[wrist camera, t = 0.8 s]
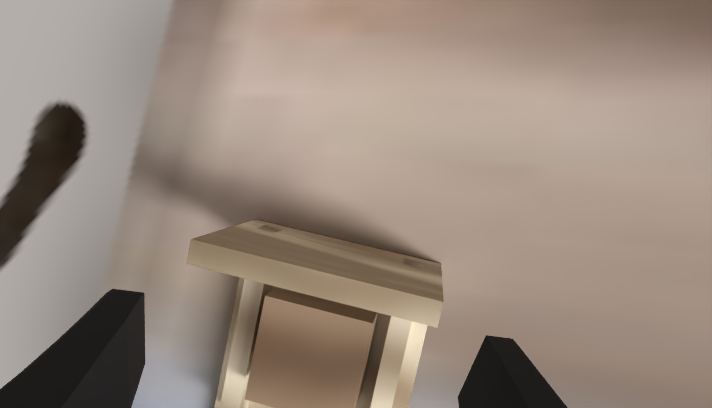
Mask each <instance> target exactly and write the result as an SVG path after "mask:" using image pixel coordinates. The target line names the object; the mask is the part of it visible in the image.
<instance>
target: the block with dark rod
mask: <svg viewBox="0 0 712 408" xmlns="http://www.w3.org/2000/svg"><path fill="white" fill-rule="evenodd" d="M377 318H378V312H374V311H370V310H366V309H362V308H358V307H354V306H350V305H346V304H342V303H338V302H334V301H330V300H327V299H323V298H319V297H315V296H311V295H307V294H303V293H299V292H295V291H291V290H287V289H283V288H279V287H276V288H274V289H273V290H272V291H270V292H269V293H268V294H267V295H265V299H264V304H263V309H262V314H261V319H260V324H259V329H258V334H257V339H256V344H255V349H254V354H253V359H252V364H251V369H250V374H249V379H248V384H247V389H246V394H245V400H249V401H252V402H256V403H259V404H263V405H266V406H270V407H273V408H356V407H357V404H358V401H359V398H360V393H361V389H362V385H363V380H364V376H365V371H366V367H367V362H368V358H369V353H370V349H371V344H372V340H373V335H374V331H375V327H376V322H377Z"/></svg>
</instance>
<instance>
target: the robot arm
mask: <svg viewBox="0 0 712 408" xmlns="http://www.w3.org/2000/svg"><path fill="white" fill-rule="evenodd" d="M144 365H145V315H144V293H141V292H133V291H125V290H117V289H112V290H110V291H109V292H107V293H106V294H105V295H104V296H103V297H102V298H101V299H100V300H99V301H98V302H97V303H96V304H95V305H94V306H93V307H92V308H91V309H90V310H89V311H88V312H87V313H86V314H85V315H84V316H83V317H82V318H80V319H79V320H78V321H77V322H76V323H75V324H74V325H73V326H72V327H71V328H70V329H69V330H68V331H67V332H66V333H65V334H63V335H62V336H61V337H60V338H59V339H58V340H57V341H56V342H55V343H54V344H52V345H51V346H50V347H49V348H48V349H47V350H46V351H45V352H43V353H42V354H41V355H40V356H39V357H38V358H37V359H36V360H34V361H33V362H32V363H31V364H30V365H29V366H28V367H27V368H25V369H24V370H23V371H22V372H21V373H19V374H18V375H17V376H16V377H15V378H13V379H12V380H11V381H10V382H8V383H7V384H6V385H5V386H4V387H2V388H1V389H0V408H131V406H132V403H133V400H134V397H135V394H136V391H137V388H138V384H139V381H140V378H141V375H142V371H143V368H144ZM458 402H459V408H567V406H566V405H565V404H564V403H563V401H562V400H561V399H560V398H559V397H558V395H557V394H556V393H555V392H554V390H553V389H552V388H551V386H550V385H549V384H548V383H547V381H546V380H545V379H544V378H543V376H542V375H541V374H540V372H539V371H538V370H537V369H536V367H535V366H534V365H533V364H532V362H531V361H530V360H529V358H528V357H527V356H526V355H525V353H524V352H523V351H522V350H521V348H520V347H519V346H518V345H517V344H516V342H515V341H514V340H513V339H510V338H502V337H494V336H486V337H485V339H484V341H483V343H482V345H481V348H480V350H479V352H478V354H477V356H476V359H475V361H474V363H473V365H472V367H471V370H470V372H469V374H468V376H467V378H466V381H465V383H464V385H463V387H462V389H461V391H460V394H459V396H458Z"/></svg>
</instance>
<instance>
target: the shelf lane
mask: <svg viewBox="0 0 712 408" xmlns="http://www.w3.org/2000/svg"><path fill="white" fill-rule="evenodd" d="M187 264H189V265H193V266H197V267H201V268H205V269H209V270H213V271H217V272H221V273H224V274H228V275H232V276H236V277H239V281H238V287H237V292H236V297H235V302H234V307H233V313H232V318H231V323H230V328H229V333H228V338H227V344H226V349H225V354H224V359H223V364H222V370H221V375H220V380H219V385H218V390H217V395H216V401H215V406H214V408H273V407H270V406H266V405H263V404H259V403H256V402H252V401H249V400H245V394H246V389H247V384H248V379H249V374H250V369H251V364H252V359H253V354H254V349H255V344H256V339H257V334H258V329H259V324H260V319H261V314H262V309H263V304H264V299H265V295H267V294H268V293H269V292H270V291H272V290H273V289H274V288H276V287H279V288H283V289H287V290H291V291H295V292H299V293H303V294H307V295H311V296H315V297H319V298H323V299H327V300H330V301H334V302H338V303H342V304H346V305H350V306H354V307H358V308H362V309H366V310H370V311H374V312H378V318H377V322H376V327H375V331H374V335H373V340H372V344H371V349H370V353H369V358H368V362H367V367H366V371H365V376H364V380H363V385H362V389H361V393H360V398H359V401H358V404H357V407H356V408H408V406H409V402H410V397H411V393H412V389H413V385H414V380H415V376H416V372H417V368H418V363H419V359H420V355H421V351H422V346H423V342H424V338H425V334H426V329H427V325H429V326H432V327H436V328H437V327H438V323H439V318H440V314H441V310H442V306H443V287H442V271H441V263H437V262H432V261H428V260H424V259H420V258H416V257H411V256H407V255H403V254H399V253H395V252H390V251H386V250H382V249H378V248H374V247H370V246H365V245H361V244H357V243H353V242H349V241H344V240H340V239H336V238H332V237H328V236H323V235H319V234H315V233H311V232H307V231H303V230H298V229H294V228H290V227H286V226H282V225H277V224H273V223H269V222H265V221H261V220H256V219H255V220H252V221H249V222H245V223H242V224H239V225H236V226H232V227H229V228H226V229H223V230H220V231H216V232H213V233H210V234H207V235H203V236H200V237H197V238H194V239H191V243H190V248H189V254H188V259H187Z"/></svg>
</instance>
